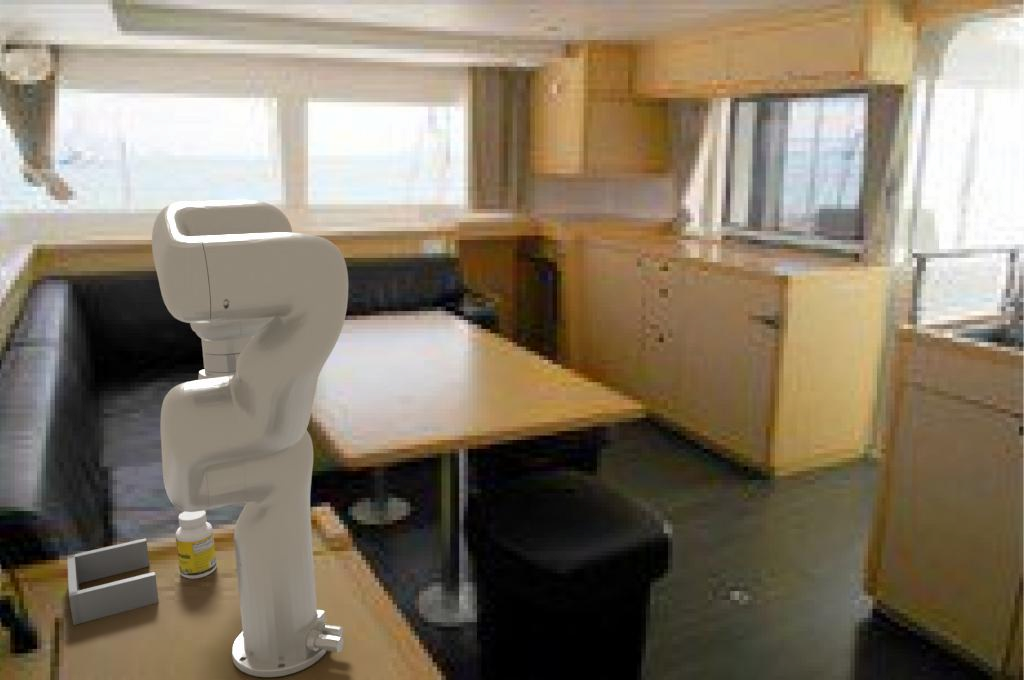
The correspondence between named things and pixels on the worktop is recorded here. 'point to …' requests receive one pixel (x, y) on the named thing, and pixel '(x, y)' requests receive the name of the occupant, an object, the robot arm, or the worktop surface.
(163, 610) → the worktop surface
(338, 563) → the worktop surface
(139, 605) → the box
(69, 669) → the worktop surface
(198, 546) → the supplement bottle
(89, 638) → the worktop surface
